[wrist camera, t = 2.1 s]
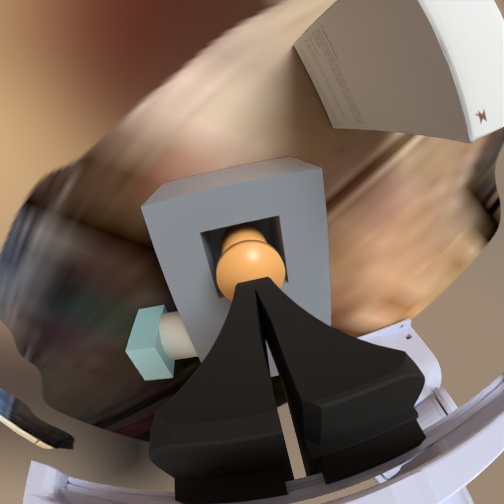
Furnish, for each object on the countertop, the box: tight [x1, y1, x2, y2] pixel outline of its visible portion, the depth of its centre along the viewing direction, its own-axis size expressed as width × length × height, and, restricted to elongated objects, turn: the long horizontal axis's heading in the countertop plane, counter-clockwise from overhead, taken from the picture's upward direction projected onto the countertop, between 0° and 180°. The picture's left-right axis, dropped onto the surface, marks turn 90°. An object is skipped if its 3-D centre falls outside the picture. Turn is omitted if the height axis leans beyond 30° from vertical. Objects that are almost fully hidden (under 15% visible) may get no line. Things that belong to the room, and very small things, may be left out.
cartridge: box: [126, 305, 198, 380], centre depth 20 cm, size 12×4×5 cm, turn 101°
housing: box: [141, 156, 331, 377], centre depth 18 cm, size 9×14×6 cm, turn 11°
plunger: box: [216, 222, 285, 301], centre depth 14 cm, size 3×3×4 cm
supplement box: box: [293, 0, 504, 144], centre depth 10 cm, size 7×7×13 cm
